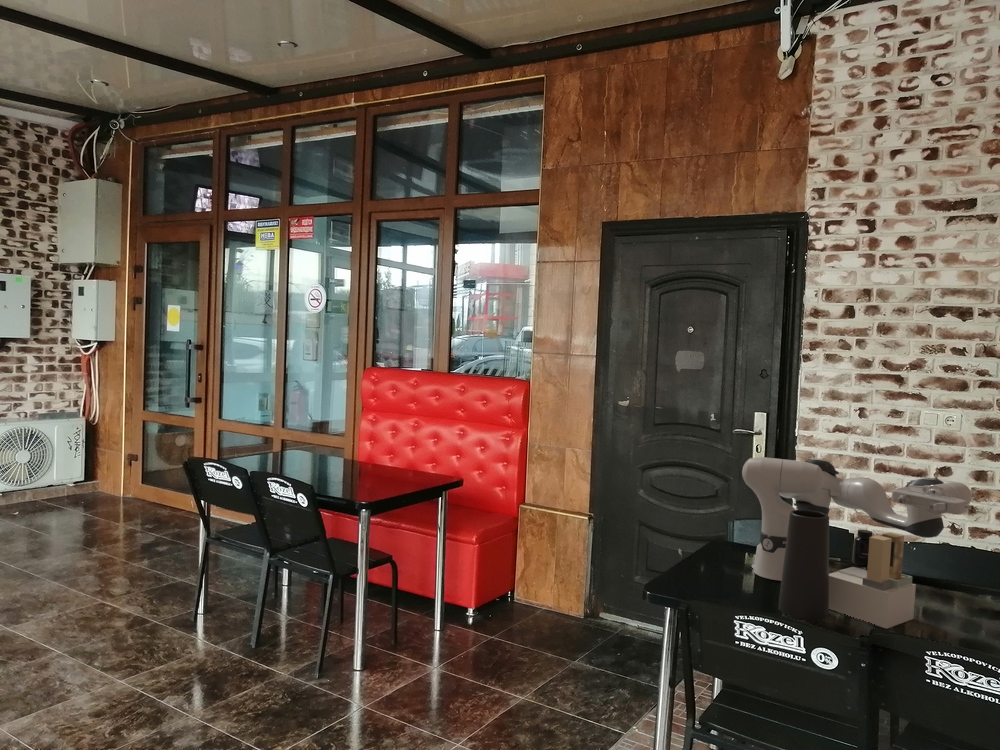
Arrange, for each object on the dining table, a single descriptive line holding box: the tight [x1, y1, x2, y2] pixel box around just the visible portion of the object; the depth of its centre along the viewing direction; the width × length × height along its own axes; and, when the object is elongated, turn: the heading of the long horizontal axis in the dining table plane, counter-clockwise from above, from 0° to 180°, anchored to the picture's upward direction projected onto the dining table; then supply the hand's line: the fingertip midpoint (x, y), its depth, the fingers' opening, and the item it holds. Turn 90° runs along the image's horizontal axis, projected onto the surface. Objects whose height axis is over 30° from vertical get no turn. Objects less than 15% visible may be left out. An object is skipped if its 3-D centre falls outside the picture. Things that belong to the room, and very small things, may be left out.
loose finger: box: [881, 532, 906, 580], centre depth 232 cm, size 6×6×14 cm
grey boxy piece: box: [829, 534, 917, 630], centre depth 234 cm, size 15×19×24 cm
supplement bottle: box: [851, 529, 874, 568], centre depth 286 cm, size 7×7×12 cm
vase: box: [777, 509, 830, 622], centre depth 233 cm, size 14×14×29 cm
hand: (915, 503), depth 238 cm, fingers open, 8 cm apart
